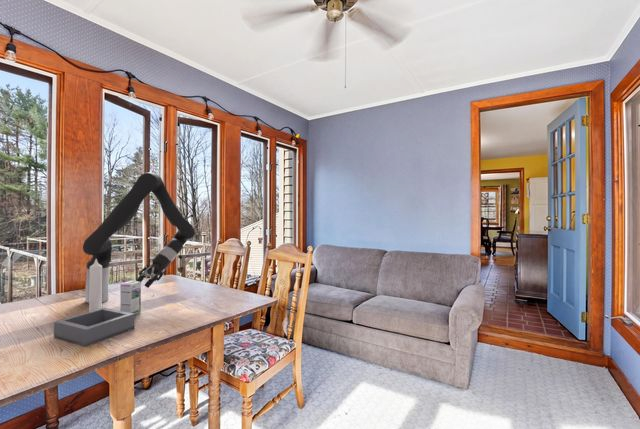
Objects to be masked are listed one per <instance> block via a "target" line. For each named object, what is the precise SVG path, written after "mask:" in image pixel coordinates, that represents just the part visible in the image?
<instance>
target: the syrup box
mask: <svg viewBox="0 0 640 429" xmlns="http://www.w3.org/2000/svg"><path fill="white" fill-rule="evenodd" d="M119 286H120V290H119V292H120V294H119V296H120V297H119V298H120V300H119V302H120V304H119V306H120V307H119V308H120V309H119V311H124V312H129V313H134V314H135V315H138V314H140V313H141V312H142V305H141V302H142V297H141V294H142V293H141V291H142V289H141V288H142V282H140V281H136V280H129V281H126V282H123V283H120V285H119Z"/></svg>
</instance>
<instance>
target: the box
mask: <svg viewBox="0 0 640 429" xmlns="http://www.w3.org/2000/svg"><path fill="white" fill-rule="evenodd" d="M135 315H136V314H134V313H129V312H124V311H120V309H119V310H118V309H114V308H109V307H102V308H101V309H97V310H94V311H90V312H89V311H87V312H86V311H85V312H83V313H80V314H76V315H72V316H69V317H66V318H62V319H59V320H54V322H53V339H57V340H61V341H64V342H66V343H71V344H73V345H77V346H78V345H79V346H81V347H85V348H87V347H90V346H92V345H95V344H97V343H100V342H102V341H105V340H108V339H111V338H113V337H115V336H116V337H117V336H118V335H121V334H123V333H126V332H130V331H132V330H134V329H135V324H136V323H135Z"/></svg>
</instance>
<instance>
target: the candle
mask: <svg viewBox="0 0 640 429" xmlns="http://www.w3.org/2000/svg"><path fill="white" fill-rule="evenodd" d="M88 304H89V305H88V312H90V311H94V310H97V309H101V308H103V305H102V304H103V302H102V265H100V264H98V262H97V259H95V262H94V264H93V265H92V266H90V283H89V303H88Z"/></svg>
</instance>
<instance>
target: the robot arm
mask: <svg viewBox="0 0 640 429" xmlns="http://www.w3.org/2000/svg"><path fill="white" fill-rule="evenodd" d="M151 193H152V194H153V195H154V196H155V198H156V199H157V201H158V203H159V205H160V207H161V209H162V212H163V214H164V216H165V217H166V219H167V220H168V221H169V223H170V224H171V225H172V226H173V227H175V228H177V232H176V233H175V234H173V236H172V238H171V240H169V242H167V243H166V245H165V246H164V247H163V248H161V250H160V251H159V252H158V253H157V254H156V255H155V257H153V259H152V260H151V262H152V264H151V265H149V264H146V265H145V266H143V267H142V269H141V270H140V271H139V272H138V278H136V280H135V281H140V282H141V283H142V282H143V280H144V279H145V278H148V277H150V278H148V280H147V281H146V282H145V284H144V287H146V288H148V289H149V288H150V287H151V285H153V283H154V282H158V281H160V280H161V279H162V278H163V276H164V274H165V273H166V272H167V270H166V269H168V267H169V266H170V265H171V263H172V262H173V261H174V260H175V258H176V257H177V255H178V254H179V253H180V252H181V251H182V250H183V247H184V245H186V243H187V241H189V240H190V239H193V238H194V237H195V234H196V231H195V228H194V226H193V225H192V224H191V223H190V222H189V221H188V220H187V219H186V218H185V217H184V215H183V214H182V213H181V211H180V209H179V208H178V207H177V205H176V204H175V202H174V201H173V198H172V197H171V195H170V194H169V192H168V190H167V188H166V185H165V183H164V181H163V179H162V176H160V174H158V173H156V172H144V173H141V174H140V175H139V177H138V178H137V179H136V181H135V183H134V184H133V186H132V187H131V189H130V190H129V191H128V193H127V194H125V196H124V197H123V198H122V199H121V200H120V201H119V202H118V203H117V204H116V206H114V208H113V209H112V210H111V212H110V213H109V215H107V217H106V218H105V219H104V220H103V221H102V223H100V225H99V226H98V227H97V228H96V229H95V230H94V231H93V232H92V233H91V234H90V235H89V236H88V237H87V238H86V239H85V240H84V242H83V244H82V250H83V252H84V253H85V254H86V255H89V256H92V257H91V258H90V260H89V261H88V262H87V263H86V282H85V290H84V291H85V298H84V299H85V302H86V304H89V283H90V266H92V265H93V264H94V262H95V259H97V262H98V264H100V265H102V303H105V302H107V301H109V295H110V294H109V291H110V290H109V285H110V263H111V261H112V251H113V248H112V247H113V245H112V240H111V239H110V238H111V237H112V236H113V235H115V234H116V233H117V232H118V231H120V230H121V229H123V228H124V227H125V226H127V225H128V224H129V223H130V222H131V220H132V219H133V218H134V217H135V216H136V215H137V213H138V211H139V209H140V206H141V204H142V203H143V201H144V200H145V198H147V196H148V195H149V194H151Z"/></svg>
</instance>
